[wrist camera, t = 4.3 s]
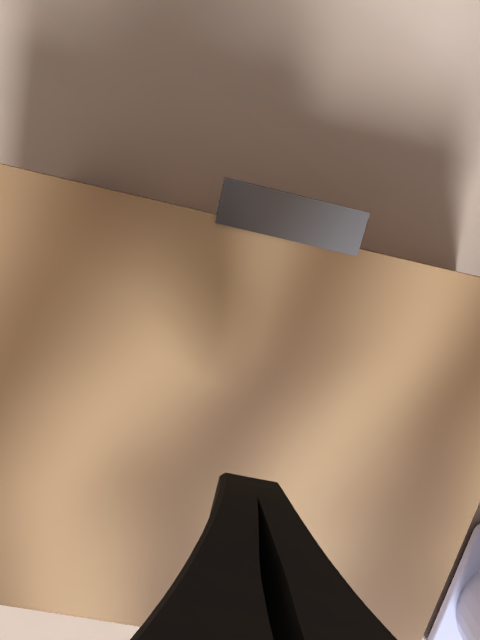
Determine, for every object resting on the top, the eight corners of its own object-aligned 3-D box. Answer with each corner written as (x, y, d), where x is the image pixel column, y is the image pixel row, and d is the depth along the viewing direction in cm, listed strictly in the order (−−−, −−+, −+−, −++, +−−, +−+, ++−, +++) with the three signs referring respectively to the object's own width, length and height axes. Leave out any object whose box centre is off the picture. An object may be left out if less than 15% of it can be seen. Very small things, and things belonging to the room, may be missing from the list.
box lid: (565, 261, 13) (583, 264, 12) (403, 652, 17) (410, 671, 16) (-8, 121, 12) (-22, 116, 11) (-48, 581, 16) (-60, 598, 15)
